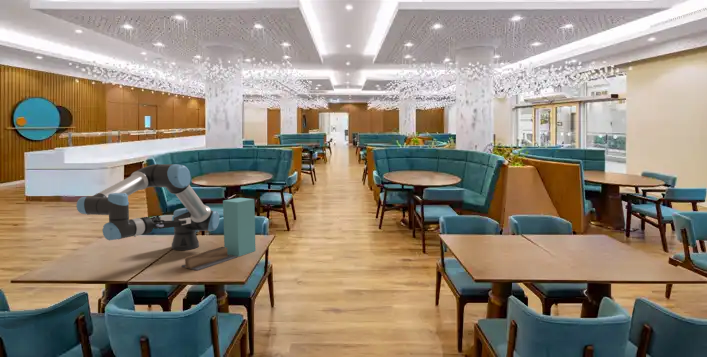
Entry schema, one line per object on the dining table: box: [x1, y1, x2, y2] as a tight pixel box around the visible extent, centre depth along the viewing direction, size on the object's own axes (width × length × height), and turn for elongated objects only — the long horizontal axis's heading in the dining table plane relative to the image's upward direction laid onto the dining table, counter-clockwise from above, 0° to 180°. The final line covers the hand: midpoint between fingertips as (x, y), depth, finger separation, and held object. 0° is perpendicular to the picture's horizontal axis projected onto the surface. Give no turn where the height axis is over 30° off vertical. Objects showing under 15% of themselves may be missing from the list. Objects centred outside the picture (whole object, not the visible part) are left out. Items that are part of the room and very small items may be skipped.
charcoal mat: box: [181, 254, 238, 271], centre depth 231 cm, size 12×26×1 cm, turn 149°
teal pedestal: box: [222, 197, 257, 257], centre depth 248 cm, size 11×13×30 cm
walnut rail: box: [184, 246, 229, 269], centre depth 229 cm, size 4×24×5 cm, turn 149°
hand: (181, 219), depth 214 cm, fingers open, 13 cm apart
